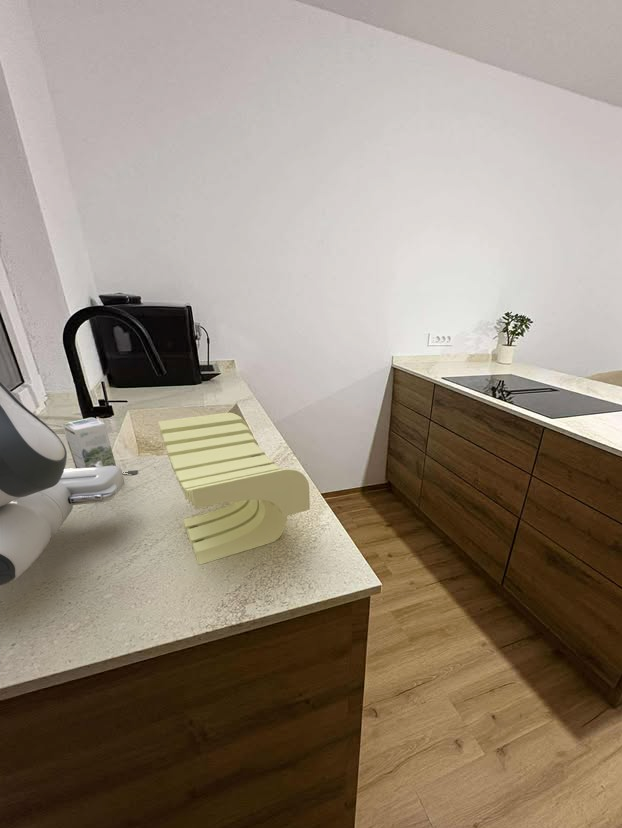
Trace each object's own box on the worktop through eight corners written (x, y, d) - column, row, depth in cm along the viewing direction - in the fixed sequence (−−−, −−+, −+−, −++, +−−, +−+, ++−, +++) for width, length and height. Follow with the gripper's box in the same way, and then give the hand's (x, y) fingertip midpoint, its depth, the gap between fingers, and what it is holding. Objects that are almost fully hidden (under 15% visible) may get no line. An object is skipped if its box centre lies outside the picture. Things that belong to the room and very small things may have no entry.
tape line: (77, 478, 87) (77, 478, 87) (80, 474, 89) (80, 474, 89) (136, 474, 90) (136, 473, 90) (138, 470, 92) (138, 470, 92)
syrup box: (108, 477, 88) (91, 416, 82) (122, 484, 85) (104, 421, 79) (81, 486, 84) (60, 422, 77) (94, 494, 81) (73, 429, 74)
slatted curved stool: (311, 562, 64) (308, 465, 56) (211, 597, 56) (192, 490, 48) (252, 487, 86) (244, 410, 78) (175, 505, 78) (158, 421, 70)
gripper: (107, 480, 60) (128, 447, 72) (-56, 493, 55) (-4, 455, 67) (117, 514, 63) (136, 477, 75) (-37, 530, 58) (9, 487, 69)
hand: (69, 466), depth 71 cm, fingers open, 8 cm apart
